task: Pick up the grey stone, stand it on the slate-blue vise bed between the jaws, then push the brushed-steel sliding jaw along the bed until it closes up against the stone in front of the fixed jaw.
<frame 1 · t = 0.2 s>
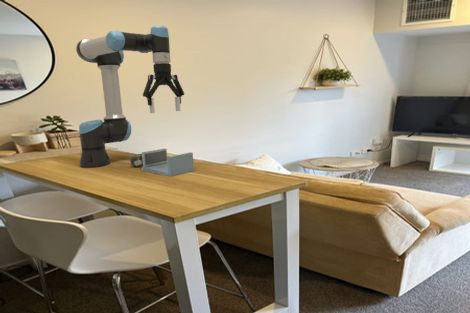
hand: (165, 112, 153), 27 cm above the table, fingers open, 13 cm apart
jaw: (155, 157, 166), point 5 cm above the table, slide at 0.0 cm
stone: (144, 166, 175), on the table
vise: (168, 170, 161), on the table
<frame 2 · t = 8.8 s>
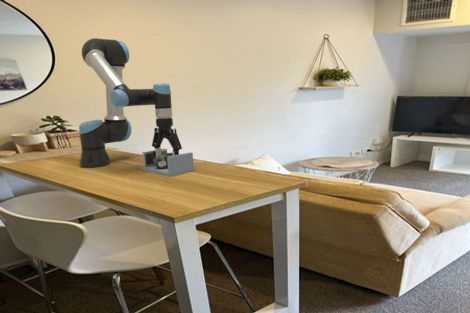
hand: (167, 163, 160), 3 cm above the table, fingers open, 13 cm apart
jaw: (155, 157, 166), point 5 cm above the table, slide at 0.4 cm, touching gripper
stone: (168, 167, 161), point 1 cm above the table, touching vise
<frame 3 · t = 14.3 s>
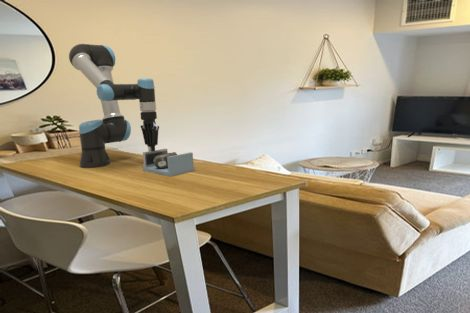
hand: (152, 159, 168), 4 cm above the table, fingers closed
jaw: (156, 157, 166), point 5 cm above the table, slide at 0.8 cm, touching gripper
everything else where it was.
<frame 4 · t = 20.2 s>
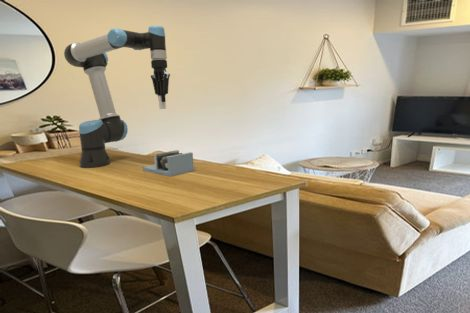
hand: (162, 108, 169), 28 cm above the table, fingers closed
jaw: (167, 159, 160), point 5 cm above the table, slide at 10.1 cm
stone: (175, 168, 158), point 1 cm above the table, touching vise
at the end: jaw slide at 10.1 cm; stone inside the target area (1.0 cm from its centre), point 1.3 cm above the table; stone tilted 1° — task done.
